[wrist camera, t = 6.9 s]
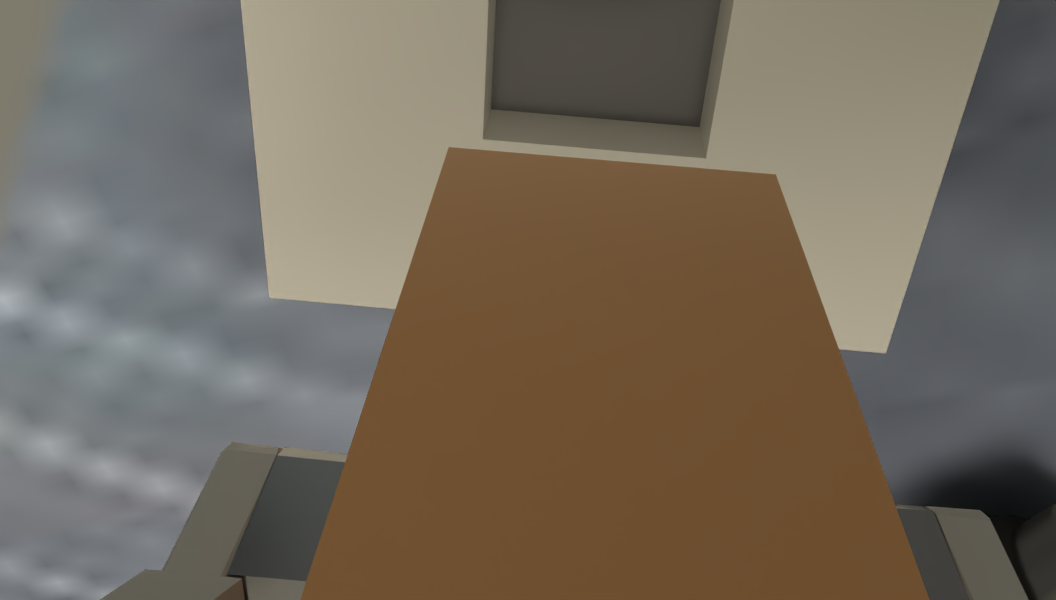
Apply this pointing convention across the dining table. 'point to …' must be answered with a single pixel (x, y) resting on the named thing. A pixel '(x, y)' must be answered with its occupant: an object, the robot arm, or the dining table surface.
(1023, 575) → the muzzle brake
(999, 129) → the dining table surface
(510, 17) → the socket block
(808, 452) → the plug
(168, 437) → the dining table surface
